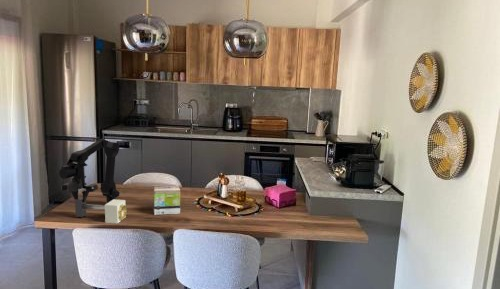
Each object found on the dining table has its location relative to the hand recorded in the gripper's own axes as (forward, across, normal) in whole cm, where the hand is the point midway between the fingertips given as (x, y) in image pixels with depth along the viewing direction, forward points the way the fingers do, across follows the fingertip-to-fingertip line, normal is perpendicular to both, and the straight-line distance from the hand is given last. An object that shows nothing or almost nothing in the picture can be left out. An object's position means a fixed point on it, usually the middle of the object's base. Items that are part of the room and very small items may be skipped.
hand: (80, 202), depth 214 cm
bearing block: (+9, +21, 0) cm, 22 cm away
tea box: (+9, +44, +18) cm, 48 cm away
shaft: (+8, +11, 0) cm, 14 cm away
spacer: (+4, +25, 0) cm, 25 cm away
